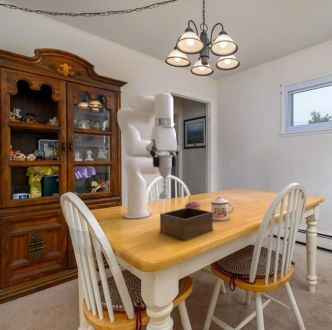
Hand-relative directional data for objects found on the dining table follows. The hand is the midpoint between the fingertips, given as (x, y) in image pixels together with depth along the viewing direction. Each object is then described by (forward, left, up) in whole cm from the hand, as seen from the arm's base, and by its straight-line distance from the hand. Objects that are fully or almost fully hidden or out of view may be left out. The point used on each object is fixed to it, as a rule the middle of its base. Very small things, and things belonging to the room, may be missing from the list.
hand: (164, 166), depth 94 cm
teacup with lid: (+6, +31, -28) cm, 42 cm away
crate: (+7, +6, -28) cm, 29 cm away
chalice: (0, 0, -13) cm, 13 cm away
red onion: (-12, +27, -28) cm, 41 cm away
